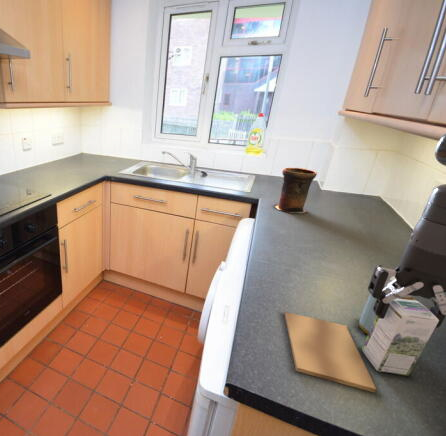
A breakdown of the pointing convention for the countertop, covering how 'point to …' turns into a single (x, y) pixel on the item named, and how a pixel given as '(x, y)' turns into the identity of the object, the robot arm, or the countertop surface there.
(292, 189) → the vessel
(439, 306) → the robot arm
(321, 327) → the oak board
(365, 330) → the bottle
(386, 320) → the syrup box
